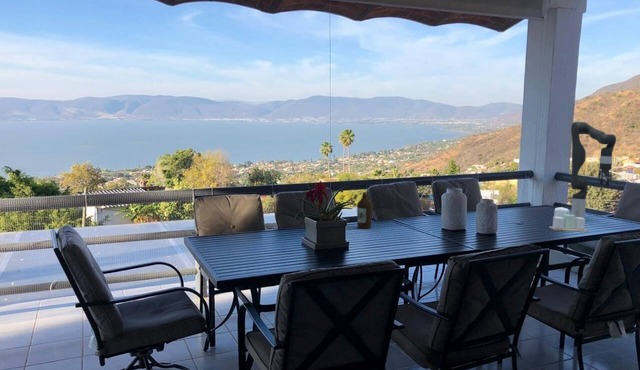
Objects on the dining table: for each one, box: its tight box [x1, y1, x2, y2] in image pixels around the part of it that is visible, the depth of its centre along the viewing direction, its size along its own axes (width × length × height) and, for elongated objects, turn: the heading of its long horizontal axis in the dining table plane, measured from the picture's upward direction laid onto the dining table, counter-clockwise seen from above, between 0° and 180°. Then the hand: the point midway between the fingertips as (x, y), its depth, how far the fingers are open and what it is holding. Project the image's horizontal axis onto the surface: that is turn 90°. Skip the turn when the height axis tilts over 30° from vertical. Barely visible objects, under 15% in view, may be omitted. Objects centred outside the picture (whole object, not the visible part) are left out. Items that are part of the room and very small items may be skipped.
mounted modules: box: [552, 216, 586, 229], centre depth 344 cm, size 6×19×7 cm, turn 86°
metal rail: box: [550, 226, 587, 229], centre depth 345 cm, size 4×22×1 cm, turn 86°
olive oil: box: [356, 191, 373, 230], centre depth 345 cm, size 11×11×25 cm
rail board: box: [549, 226, 589, 232], centre depth 345 cm, size 10×22×1 cm, turn 86°
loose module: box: [563, 214, 575, 228], centre depth 344 cm, size 4×6×9 cm, turn 85°
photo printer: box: [553, 206, 570, 218], centre depth 364 cm, size 10×4×12 cm, turn 39°
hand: (604, 185), depth 350 cm, fingers open, 8 cm apart
